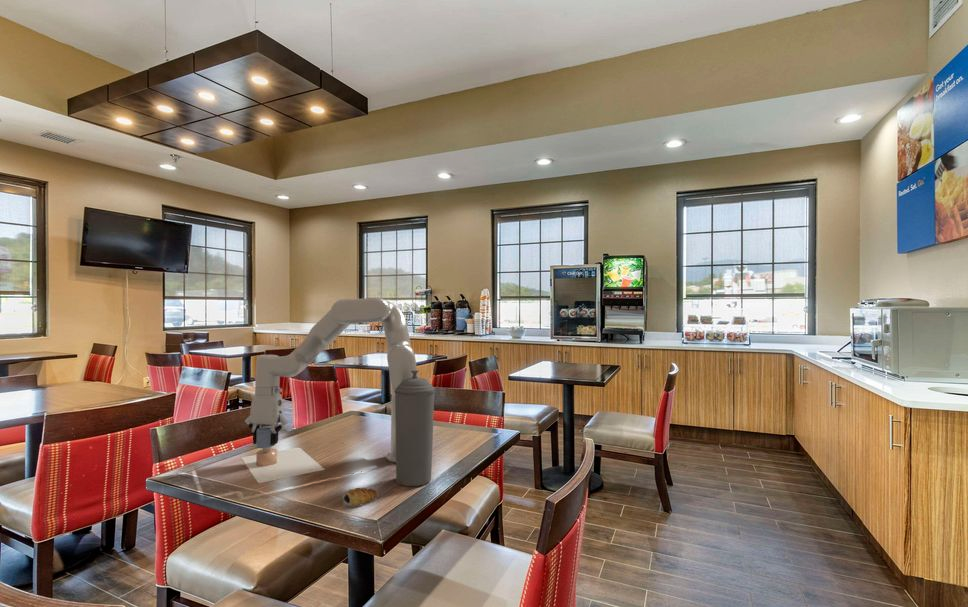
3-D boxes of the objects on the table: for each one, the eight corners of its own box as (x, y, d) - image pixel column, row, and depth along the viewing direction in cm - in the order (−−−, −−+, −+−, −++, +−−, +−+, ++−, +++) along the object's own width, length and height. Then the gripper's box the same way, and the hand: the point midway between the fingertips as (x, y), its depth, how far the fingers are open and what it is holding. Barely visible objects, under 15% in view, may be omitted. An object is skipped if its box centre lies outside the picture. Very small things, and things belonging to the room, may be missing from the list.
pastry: (370, 493, 130) (371, 480, 130) (382, 501, 125) (382, 487, 125) (340, 502, 124) (340, 488, 124) (351, 510, 119) (351, 496, 119)
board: (325, 472, 146) (325, 469, 146) (258, 486, 134) (258, 483, 134) (299, 450, 170) (299, 447, 170) (240, 460, 158) (240, 457, 158)
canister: (440, 483, 138) (442, 371, 139) (402, 492, 131) (403, 373, 132) (423, 471, 148) (425, 366, 149) (387, 478, 142) (388, 368, 143)
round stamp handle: (279, 463, 151) (279, 431, 152) (258, 467, 148) (259, 434, 148) (274, 458, 157) (275, 427, 157) (254, 462, 153) (255, 430, 153)
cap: (277, 443, 154) (278, 426, 154) (267, 448, 149) (268, 430, 149) (263, 442, 155) (263, 425, 155) (252, 447, 150) (253, 429, 150)
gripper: (296, 390, 155) (294, 442, 155) (251, 388, 157) (249, 439, 157) (284, 393, 148) (282, 448, 147) (237, 391, 150) (234, 445, 149)
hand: (265, 443), depth 152 cm, fingers closed on cap, 5 cm apart
